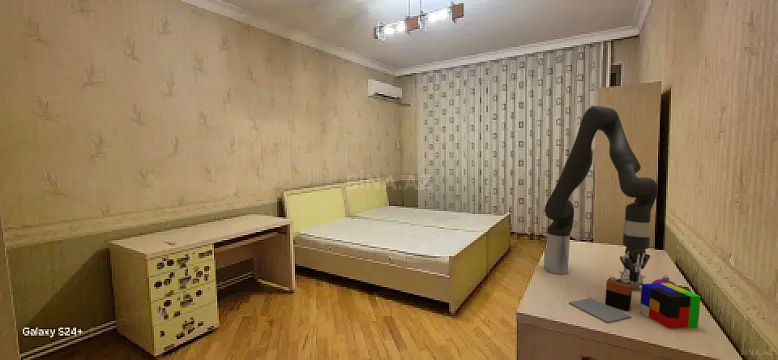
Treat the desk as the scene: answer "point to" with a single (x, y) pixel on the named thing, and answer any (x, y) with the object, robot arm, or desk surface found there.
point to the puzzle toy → (670, 305)
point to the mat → (600, 310)
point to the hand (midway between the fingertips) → (633, 281)
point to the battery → (618, 293)
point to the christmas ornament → (664, 281)
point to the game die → (634, 284)
